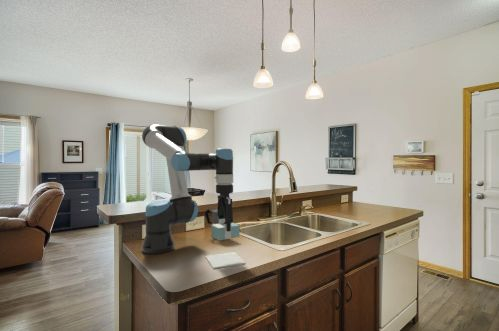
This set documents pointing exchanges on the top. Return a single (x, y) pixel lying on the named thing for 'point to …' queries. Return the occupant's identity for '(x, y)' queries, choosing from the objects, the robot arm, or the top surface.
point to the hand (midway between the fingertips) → (224, 235)
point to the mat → (224, 260)
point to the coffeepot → (215, 217)
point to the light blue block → (223, 231)
